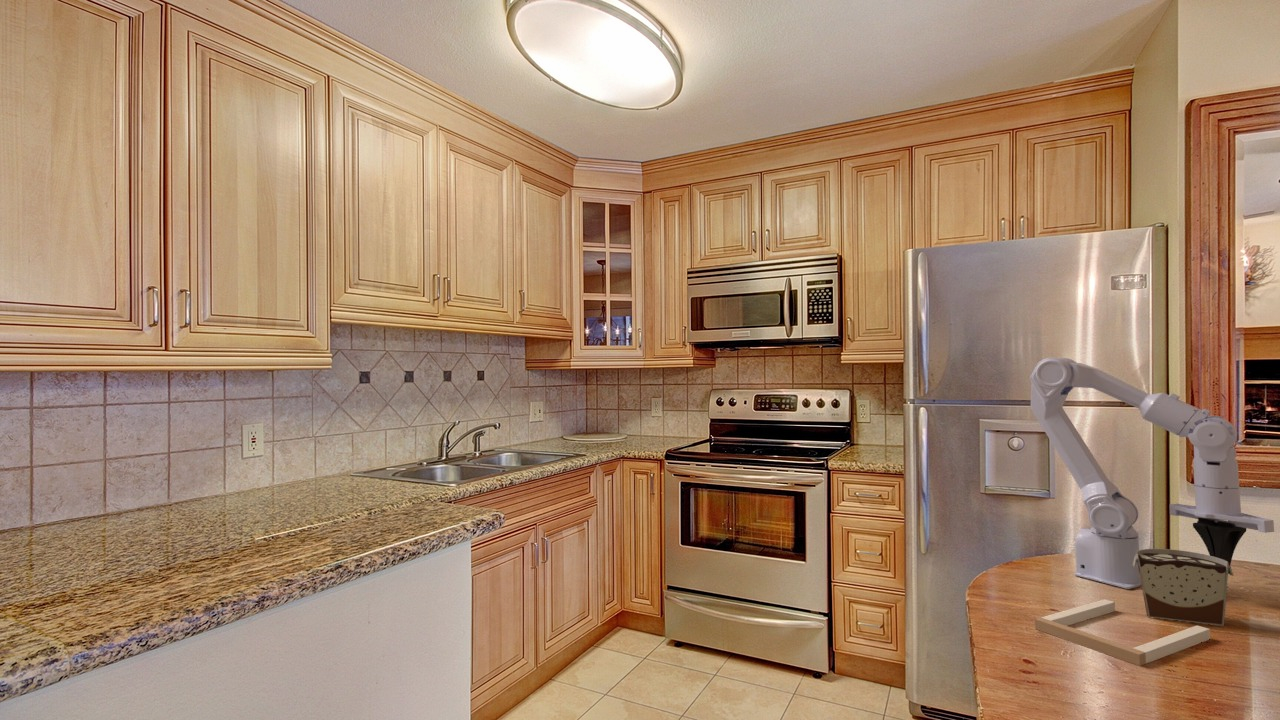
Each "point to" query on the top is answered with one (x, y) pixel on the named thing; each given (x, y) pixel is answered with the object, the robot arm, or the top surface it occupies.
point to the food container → (1183, 585)
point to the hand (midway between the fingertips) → (1221, 565)
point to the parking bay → (1137, 655)
